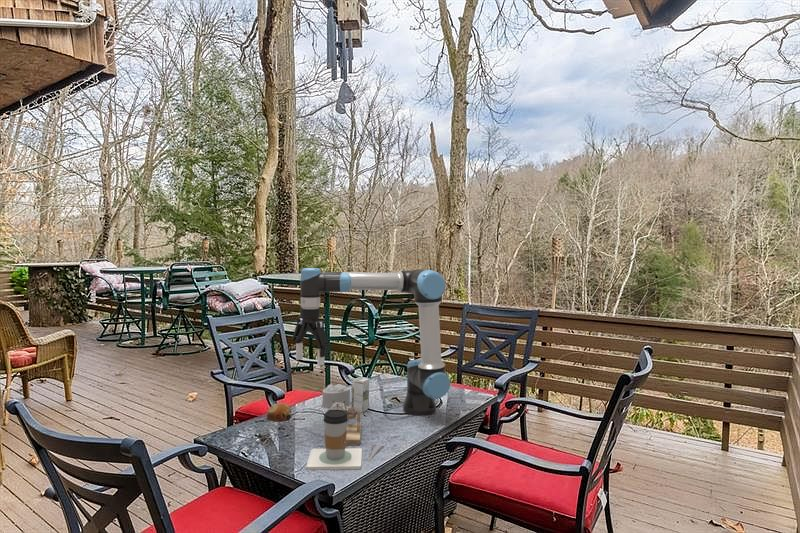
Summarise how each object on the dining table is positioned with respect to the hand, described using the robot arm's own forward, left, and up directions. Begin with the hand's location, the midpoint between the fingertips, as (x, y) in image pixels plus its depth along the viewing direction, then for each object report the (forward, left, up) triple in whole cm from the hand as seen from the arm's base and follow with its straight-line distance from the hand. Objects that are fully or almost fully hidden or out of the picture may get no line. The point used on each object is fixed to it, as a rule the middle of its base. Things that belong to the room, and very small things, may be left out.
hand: (309, 362), depth 180 cm
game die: (-10, -16, -29) cm, 35 cm away
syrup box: (-19, -28, -29) cm, 44 cm away
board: (-12, +22, -29) cm, 38 cm away
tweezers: (-25, +19, -29) cm, 43 cm away
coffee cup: (-12, +22, -28) cm, 37 cm away
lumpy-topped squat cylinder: (-7, -37, -29) cm, 47 cm away
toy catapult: (-16, +1, -29) cm, 33 cm away
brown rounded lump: (+15, -19, -29) cm, 38 cm away
